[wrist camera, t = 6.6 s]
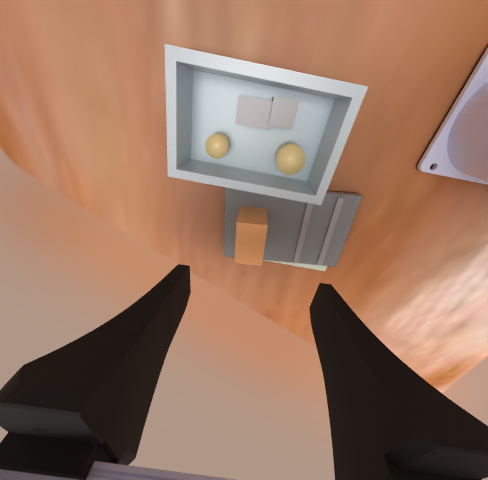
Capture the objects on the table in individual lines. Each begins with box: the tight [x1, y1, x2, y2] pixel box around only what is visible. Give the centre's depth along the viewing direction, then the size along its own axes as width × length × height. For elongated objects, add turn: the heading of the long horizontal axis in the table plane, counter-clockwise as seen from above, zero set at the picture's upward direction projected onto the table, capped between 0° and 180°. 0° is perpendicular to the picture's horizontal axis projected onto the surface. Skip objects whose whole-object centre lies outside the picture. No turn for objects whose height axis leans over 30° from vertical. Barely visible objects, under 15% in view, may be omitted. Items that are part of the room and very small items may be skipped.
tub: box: [165, 44, 368, 205], centre depth 15 cm, size 11×7×4 cm, turn 80°
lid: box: [224, 187, 363, 267], centre depth 19 cm, size 12×8×4 cm, turn 86°
